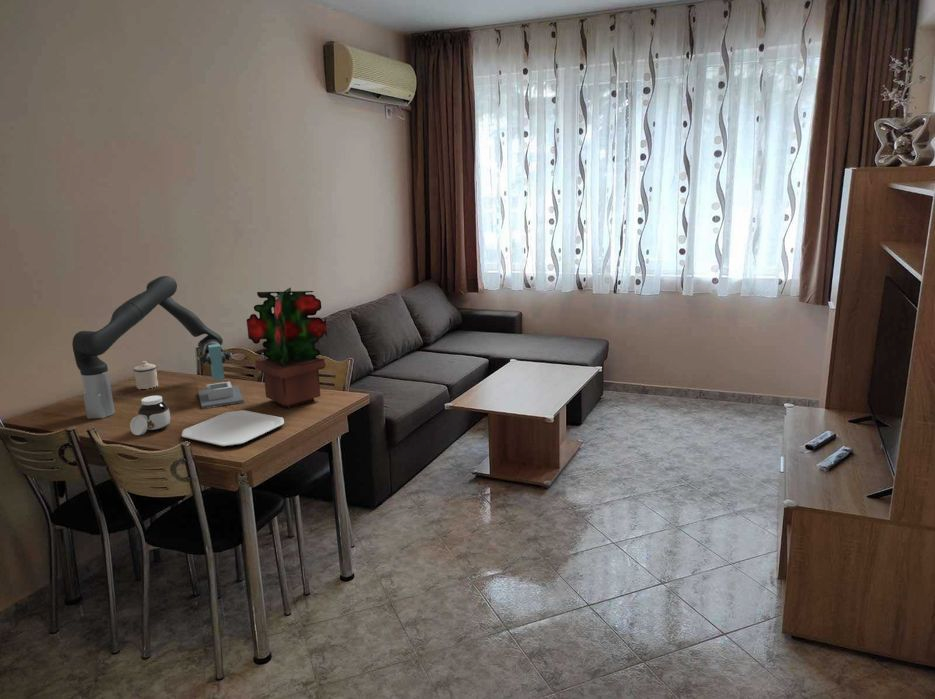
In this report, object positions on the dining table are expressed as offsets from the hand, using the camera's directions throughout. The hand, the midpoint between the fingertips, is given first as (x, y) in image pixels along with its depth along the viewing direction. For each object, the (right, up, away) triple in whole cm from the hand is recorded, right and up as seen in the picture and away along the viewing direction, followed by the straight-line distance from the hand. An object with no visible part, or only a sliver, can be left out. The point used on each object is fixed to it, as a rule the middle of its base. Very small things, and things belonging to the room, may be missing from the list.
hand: (216, 361), depth 271 cm
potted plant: (+31, -16, 0) cm, 35 cm away
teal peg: (-1, -7, +4) cm, 8 cm away
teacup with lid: (-41, -12, +24) cm, 49 cm away
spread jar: (-13, -25, -28) cm, 40 cm away
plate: (+18, -25, -30) cm, 43 cm away
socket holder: (-1, -15, +6) cm, 17 cm away
